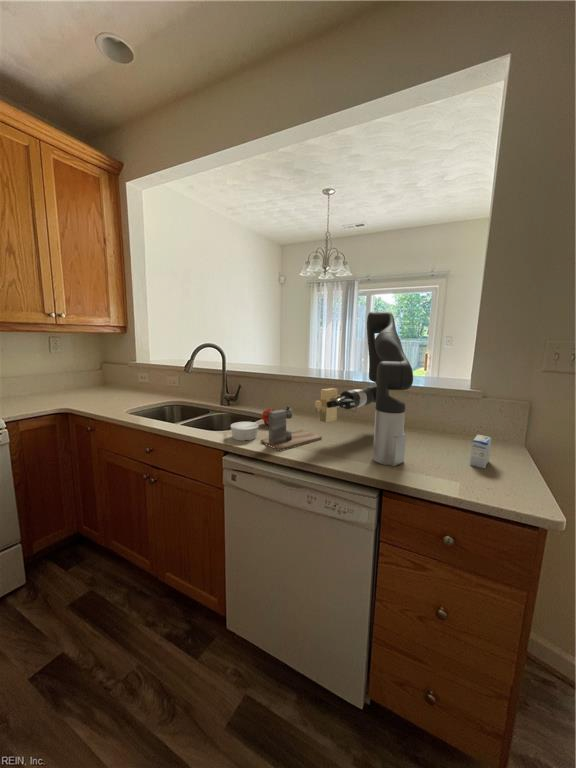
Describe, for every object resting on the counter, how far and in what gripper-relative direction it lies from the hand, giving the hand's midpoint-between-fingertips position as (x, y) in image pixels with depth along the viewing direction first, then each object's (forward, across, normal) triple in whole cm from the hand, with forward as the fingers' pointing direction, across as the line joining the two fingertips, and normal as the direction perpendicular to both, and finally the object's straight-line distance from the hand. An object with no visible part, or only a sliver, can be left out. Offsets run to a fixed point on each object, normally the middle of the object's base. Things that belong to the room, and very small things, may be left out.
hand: (324, 404), depth 119 cm
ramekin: (+18, -26, +16) cm, 36 cm away
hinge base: (+6, -11, +16) cm, 20 cm away
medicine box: (-28, +45, +16) cm, 55 cm away
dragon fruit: (-1, -33, +16) cm, 37 cm away
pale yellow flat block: (-1, 0, +7) cm, 7 cm away
